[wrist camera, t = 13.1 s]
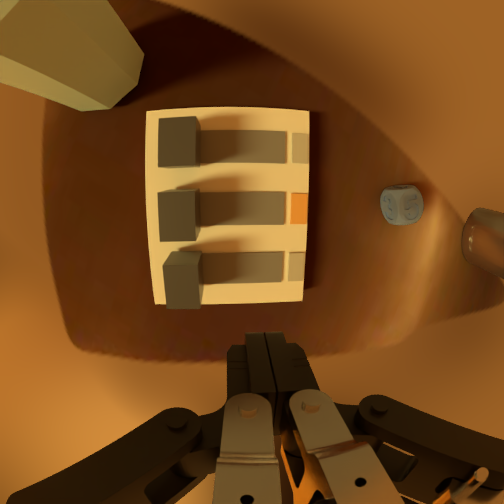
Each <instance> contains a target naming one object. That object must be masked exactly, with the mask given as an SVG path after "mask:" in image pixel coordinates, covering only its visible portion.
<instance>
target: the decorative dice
mask: <svg viewBox="0 0 504 504" xmlns="http://www.w3.org/2000/svg"><path fill="white" fill-rule="evenodd" d="M380 204H381V210H382V213H383V215H384V217H385V219H386V220H387V221H388V222H389V223H390V224H394V225H408V224H413V223H416V222H417V221H418V220H419V219H420V218H421V216H422V213H423V209H424V202H423V197H422V195H421V193H420V191H419V190H418V189H417V187H415V186H414V185H396V186H390V187H387V188H385V189H384V191H383V192H382V195H381V199H380Z"/></svg>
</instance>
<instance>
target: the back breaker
mask: <svg viewBox="0 0 504 504" xmlns="http://www.w3.org/2000/svg"><path fill="white" fill-rule="evenodd" d="M162 268H163V278H164V288H165V297H166V306H167V309H201V302H202V296H203V290H204V286H203V266H202V251H172V252H171V253H170V255H169V256H168V258H167V259H166V261H165V262H164V264H163V265H162Z"/></svg>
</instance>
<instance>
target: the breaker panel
mask: <svg viewBox="0 0 504 504" xmlns="http://www.w3.org/2000/svg"><path fill="white" fill-rule="evenodd" d="M185 116H196V117H197V119H198V121H199V123H200V125H201V142H200V167H193V168H170V169H168V168H160V167H158V122H159V118H170V117H185ZM145 178H146V210H147V228H148V242H149V254H150V265H151V275H152V284H153V292H154V300H155V304H166V297H165V288H164V278H163V268H162V265H163V264H164V262H165V261H166V259H167V258H168V256H169V255H170V253H171V252H172V251H202V266H203V286H204V290H203V296H202V302H201V304H234V303H265V302H288V301H302V297H303V285H304V271H305V256H306V239H307V219H308V191H309V111H302V110H291V109H277V108H256V107H201V108H181V109H167V110H156V111H147V115H146V146H145ZM198 188H200V228H201V231H200V233H199V235H198V238H197V240H196V241H181V242H160V238H159V221H158V195H157V192H161V191H165V190H170V189H198Z"/></svg>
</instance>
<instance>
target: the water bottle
mask: <svg viewBox="0 0 504 504" xmlns="http://www.w3.org/2000/svg"><path fill="white" fill-rule="evenodd" d="M143 58H144V53H143V51H142V50H141V49H140V47H139V46H138V44H137V43H136V41H135V40H134V38H133V37H132V35H131V34H130V33H129V31H128V30H127V28H126V27H125V25H124V24H123V22H122V21H121V20H120V18H119V17H118V15H117V14H116V12H115V11H114V10H113V8H112V7H111V5H110V4H109V2H108V1H107V0H0V83H3V84H7V85H10V86H13V87H16V88H19V89H22V90H25V91H28V92H31V93H34V94H37V95H40V96H42V97H45V98H48V99H50V100H53V101H56V102H59V103H61V104H64V105H66V106H69V107H72V108H74V109H77V110H79V111H89V110H101V109H111V108H112V107H113V106H114V105H115V104H116V103H117V102H118V101H120V100H121V99H122V98H123V97H124V96H125V95H126V94H127V93H128V92H130V91H131V90H132V89H133V88H134V87H135V86H136V85H138V80H139V75H140V71H141V66H142V62H143Z"/></svg>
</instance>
